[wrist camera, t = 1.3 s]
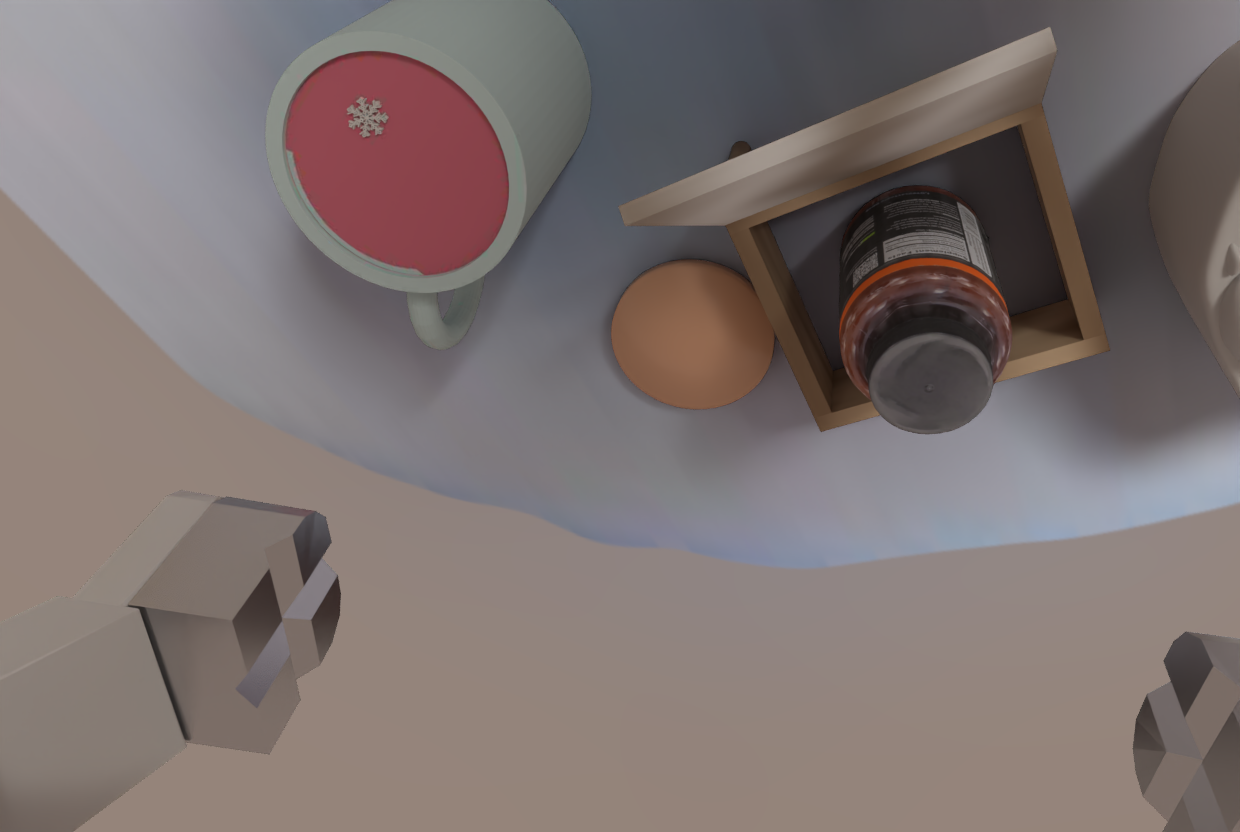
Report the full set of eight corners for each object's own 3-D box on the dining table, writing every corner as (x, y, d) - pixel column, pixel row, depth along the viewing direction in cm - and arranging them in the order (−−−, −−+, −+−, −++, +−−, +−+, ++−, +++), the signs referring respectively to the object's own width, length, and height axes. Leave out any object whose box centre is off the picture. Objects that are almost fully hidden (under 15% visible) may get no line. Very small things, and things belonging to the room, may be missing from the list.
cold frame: (987, -64, 34) (1051, 29, 23) (1092, 308, 41) (1180, 514, 30) (682, 77, 39) (616, 209, 28) (822, 389, 46) (813, 592, 35)
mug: (369, -40, 39) (243, 17, 31) (594, -20, 38) (525, 46, 30) (398, 267, 47) (305, 377, 39) (586, 293, 46) (529, 411, 38)
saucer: (735, 235, 42) (734, 243, 42) (799, 373, 46) (798, 382, 45) (587, 291, 45) (583, 299, 45) (656, 417, 49) (654, 426, 48)
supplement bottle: (957, 321, 43) (986, 478, 34) (824, 293, 43) (817, 440, 34) (1007, 195, 39) (1055, 333, 30) (861, 165, 40) (865, 292, 31)
